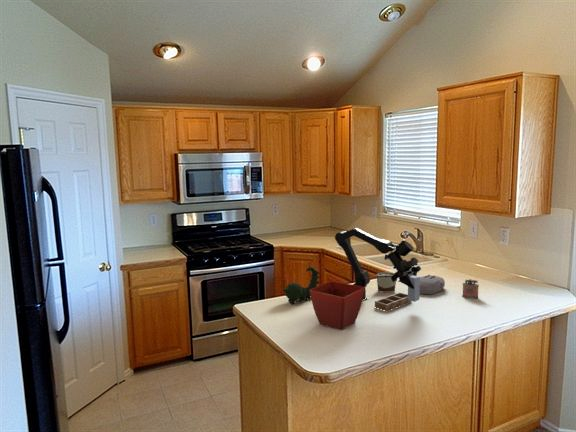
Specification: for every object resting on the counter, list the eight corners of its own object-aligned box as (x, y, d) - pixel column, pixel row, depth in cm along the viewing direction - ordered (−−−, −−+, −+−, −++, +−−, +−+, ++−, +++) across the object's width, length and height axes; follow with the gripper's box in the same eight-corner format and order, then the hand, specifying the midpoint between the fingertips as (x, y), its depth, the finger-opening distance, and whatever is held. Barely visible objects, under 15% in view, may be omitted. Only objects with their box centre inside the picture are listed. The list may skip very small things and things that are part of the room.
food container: (395, 288, 246) (395, 272, 245) (397, 291, 240) (397, 275, 239) (374, 288, 248) (374, 271, 246) (375, 291, 241) (375, 274, 240)
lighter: (461, 297, 229) (462, 279, 228) (462, 295, 232) (463, 278, 230) (478, 299, 225) (478, 281, 224) (478, 297, 228) (479, 279, 227)
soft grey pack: (423, 284, 255) (408, 292, 240) (424, 270, 253) (408, 278, 239) (448, 288, 244) (434, 297, 230) (449, 275, 243) (434, 283, 229)
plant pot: (331, 312, 211) (331, 280, 208) (365, 321, 199) (365, 286, 196) (309, 324, 196) (308, 289, 194) (344, 334, 184) (343, 297, 182)
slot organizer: (386, 311, 210) (386, 305, 209) (374, 307, 216) (374, 301, 215) (411, 302, 223) (411, 295, 223) (399, 298, 229) (399, 292, 229)
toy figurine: (310, 296, 240) (276, 303, 224) (311, 264, 239) (278, 268, 222) (321, 300, 233) (288, 307, 217) (323, 267, 232) (289, 271, 215)
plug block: (414, 301, 207) (415, 278, 205) (407, 299, 210) (408, 276, 208) (419, 299, 209) (419, 276, 207) (412, 297, 212) (412, 274, 211)
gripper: (396, 255, 203) (415, 282, 196) (418, 250, 215) (437, 275, 208) (383, 268, 210) (401, 295, 204) (405, 262, 222) (422, 286, 215)
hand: (416, 287), depth 207 cm, fingers closed on plug block, 4 cm apart
